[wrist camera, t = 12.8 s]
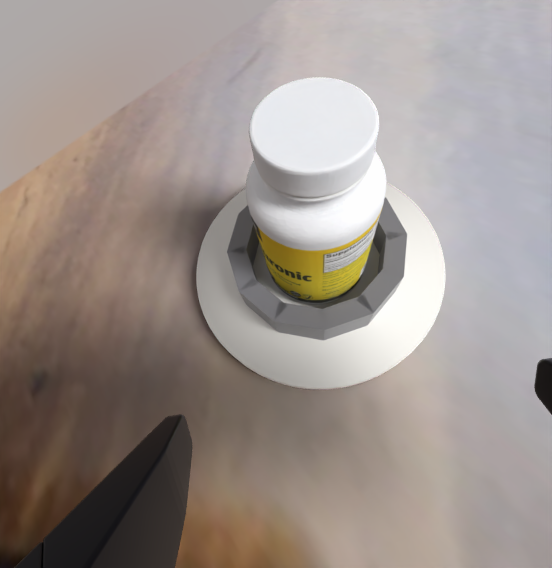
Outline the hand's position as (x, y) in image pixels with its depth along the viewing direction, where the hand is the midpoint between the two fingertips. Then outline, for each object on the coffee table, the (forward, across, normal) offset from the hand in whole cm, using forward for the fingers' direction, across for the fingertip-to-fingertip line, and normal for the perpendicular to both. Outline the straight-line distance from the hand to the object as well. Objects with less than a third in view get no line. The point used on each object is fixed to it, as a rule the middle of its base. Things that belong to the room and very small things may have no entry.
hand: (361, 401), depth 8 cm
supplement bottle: (+12, -1, 0) cm, 12 cm away
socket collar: (+12, -1, 0) cm, 12 cm away
